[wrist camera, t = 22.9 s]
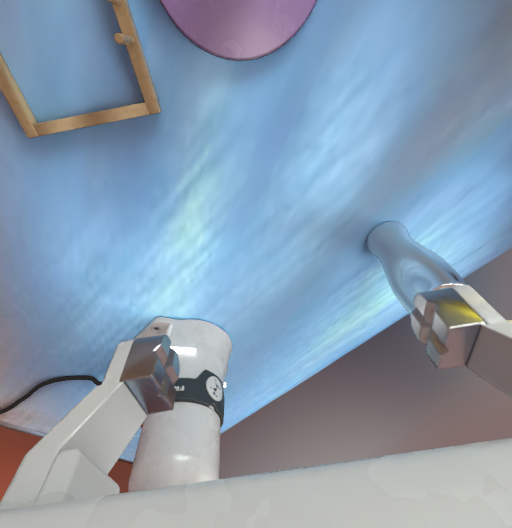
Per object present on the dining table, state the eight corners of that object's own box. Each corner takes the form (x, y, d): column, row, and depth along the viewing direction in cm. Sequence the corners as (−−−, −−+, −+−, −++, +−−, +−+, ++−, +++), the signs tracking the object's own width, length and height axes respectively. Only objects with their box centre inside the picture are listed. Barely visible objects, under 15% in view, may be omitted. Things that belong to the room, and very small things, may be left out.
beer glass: (388, 264, 48) (441, 336, 36) (353, 248, 46) (398, 319, 33) (419, 229, 45) (491, 295, 32) (384, 210, 42) (445, 273, 30)
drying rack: (34, 136, 34) (8, 146, 30) (-77, -64, 25) (-135, -86, 21) (161, 111, 34) (152, 118, 30) (95, -104, 25) (68, -134, 21)
